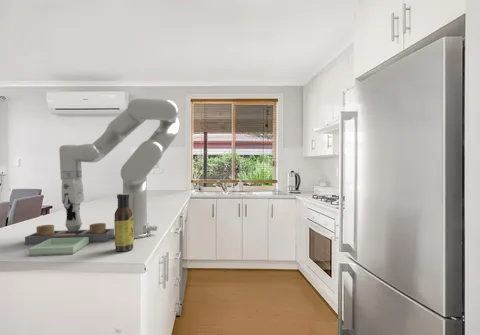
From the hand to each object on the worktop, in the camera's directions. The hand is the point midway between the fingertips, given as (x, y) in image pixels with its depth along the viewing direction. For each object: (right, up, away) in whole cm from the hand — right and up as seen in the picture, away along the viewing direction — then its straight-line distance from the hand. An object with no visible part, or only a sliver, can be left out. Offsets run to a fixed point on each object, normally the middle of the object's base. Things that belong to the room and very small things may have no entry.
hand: (73, 220), depth 124 cm
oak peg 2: (+9, -8, +1) cm, 12 cm away
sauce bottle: (+26, -8, -15) cm, 31 cm away
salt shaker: (0, -4, 0) cm, 4 cm away
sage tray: (+3, -8, -14) cm, 16 cm away
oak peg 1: (-11, -8, -1) cm, 13 cm away
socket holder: (-1, -8, 0) cm, 8 cm away
